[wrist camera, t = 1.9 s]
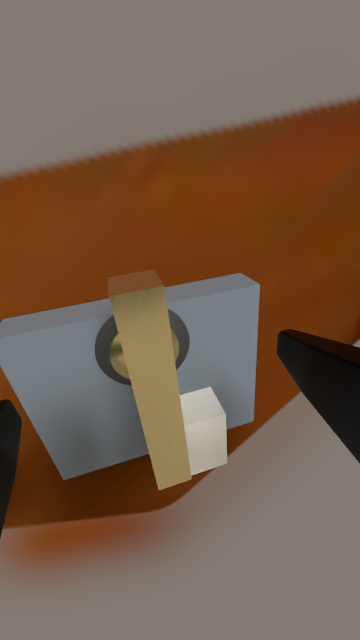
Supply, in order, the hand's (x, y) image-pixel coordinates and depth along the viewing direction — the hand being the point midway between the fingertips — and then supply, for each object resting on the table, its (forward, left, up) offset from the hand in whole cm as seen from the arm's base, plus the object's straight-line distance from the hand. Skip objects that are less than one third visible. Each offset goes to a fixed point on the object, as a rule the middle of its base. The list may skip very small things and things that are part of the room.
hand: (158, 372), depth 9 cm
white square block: (-1, +10, -6) cm, 12 cm away
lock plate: (0, +6, -9) cm, 11 cm away
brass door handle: (0, +3, -6) cm, 7 cm away
